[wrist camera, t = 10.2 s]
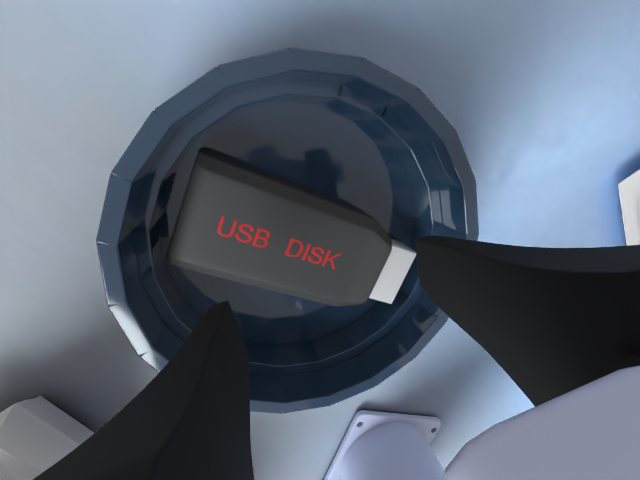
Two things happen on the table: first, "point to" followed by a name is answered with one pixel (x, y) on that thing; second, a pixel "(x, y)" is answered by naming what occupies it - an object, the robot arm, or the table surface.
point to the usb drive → (283, 237)
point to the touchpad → (631, 207)
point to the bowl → (305, 170)
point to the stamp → (36, 438)
